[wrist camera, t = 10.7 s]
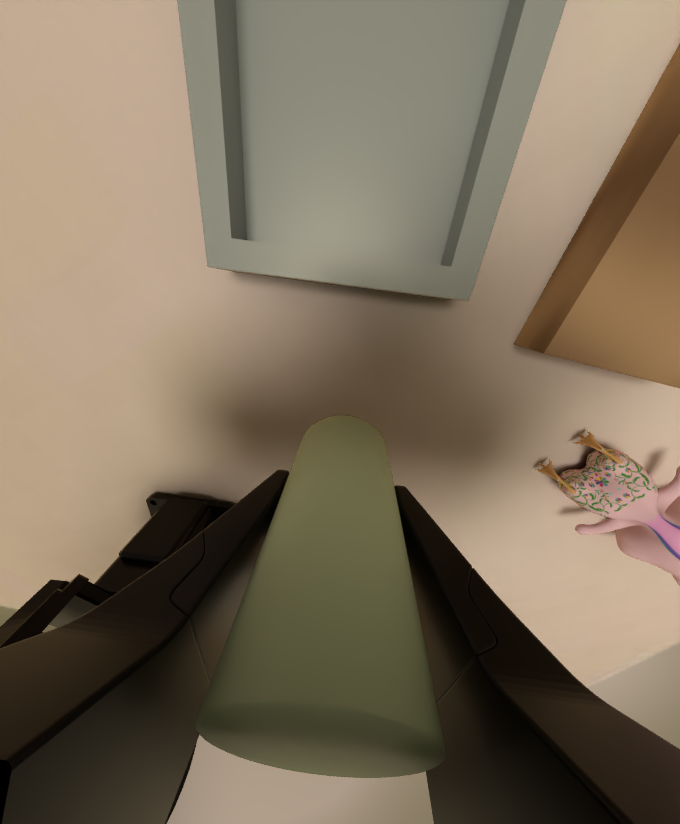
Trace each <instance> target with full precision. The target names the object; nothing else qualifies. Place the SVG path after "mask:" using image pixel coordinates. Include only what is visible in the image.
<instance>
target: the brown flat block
mask: <svg viewBox="0 0 680 824" xmlns="http://www.w3.org/2000/svg"><path fill="white" fill-rule="evenodd" d="M514 344H516V345H519V346H522V347H525V348H529V349H532V350H535V351H538V352H541V353H545V354H548V355H552V356H556V357H560V358H564V359H568V360H572V361H576V362H580V363H583V364H587V365H591V366H595V367H599V368H603V369H607V370H611V371H615V372H618V373H622V374H626V375H630V376H634V377H638V378H642V379H646V380H649V381H653V382H657V383H661V384H665V385H669V386H673V387H677V388H680V44H679V46H678V48H677V49H676V51H675V53H674V55H673V57H672V58H671V60H670V62H669V64H668V66H667V67H666V69H665V71H664V73H663V75H662V77H661V78H660V80H659V82H658V84H657V86H656V87H655V89H654V91H653V93H652V95H651V97H650V98H649V100H648V102H647V104H646V106H645V107H644V109H643V111H642V113H641V115H640V116H639V118H638V120H637V122H636V124H635V126H634V127H633V129H632V131H631V133H630V135H629V136H628V138H627V140H626V142H625V144H624V145H623V147H622V149H621V151H620V153H619V155H618V156H617V158H616V160H615V162H614V164H613V165H612V167H611V169H610V171H609V173H608V174H607V176H606V178H605V180H604V182H603V184H602V185H601V187H600V189H599V191H598V193H597V194H596V196H595V198H594V200H593V202H592V204H591V205H590V207H589V209H588V211H587V213H586V214H585V216H584V218H583V220H582V222H581V223H580V225H579V227H578V229H577V231H576V233H575V234H574V236H573V238H572V240H571V242H570V243H569V245H568V247H567V249H566V251H565V252H564V254H563V256H562V258H561V260H560V262H559V263H558V265H557V267H556V269H555V271H554V272H553V274H552V276H551V278H550V280H549V282H548V283H547V285H546V287H545V289H544V291H543V292H542V294H541V296H540V298H539V300H538V301H537V303H536V305H535V307H534V309H533V311H532V312H531V314H530V316H529V318H528V320H527V321H526V323H525V325H524V327H523V329H522V330H521V332H520V334H519V336H518V338H517V340H516V341H515V343H514Z"/></svg>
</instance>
